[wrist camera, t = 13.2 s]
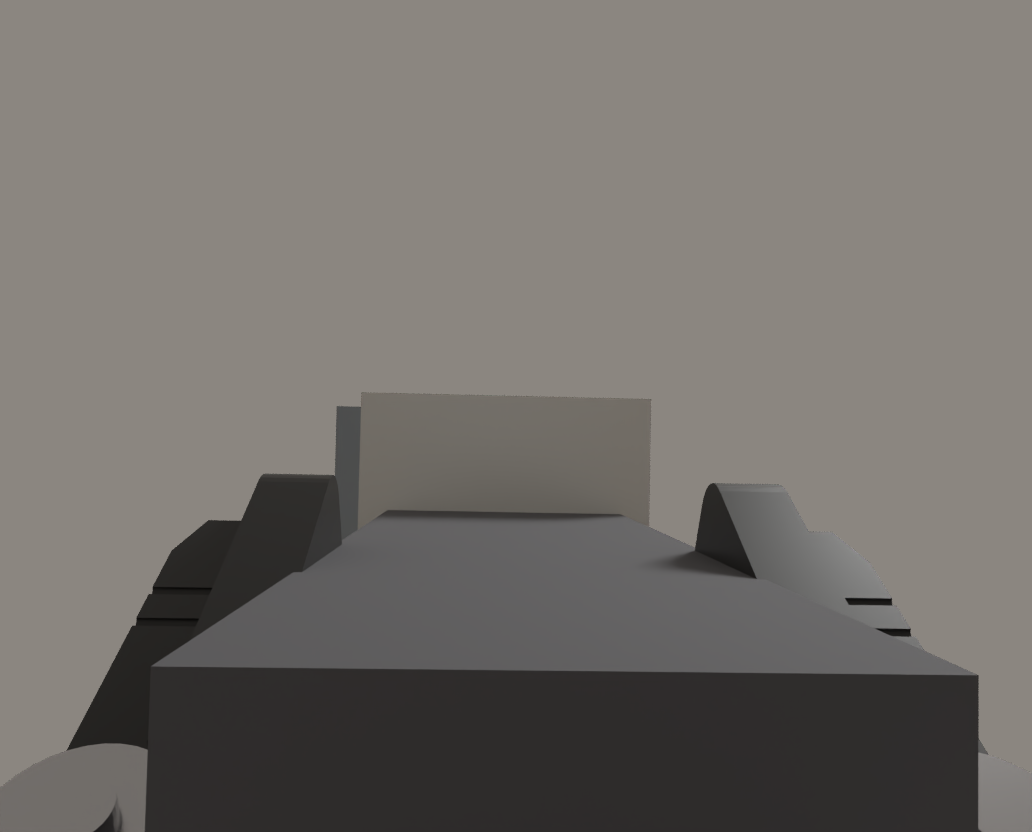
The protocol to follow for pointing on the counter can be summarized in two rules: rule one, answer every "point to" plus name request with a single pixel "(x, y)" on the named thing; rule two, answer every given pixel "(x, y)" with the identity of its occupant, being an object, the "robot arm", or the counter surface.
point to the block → (545, 663)
